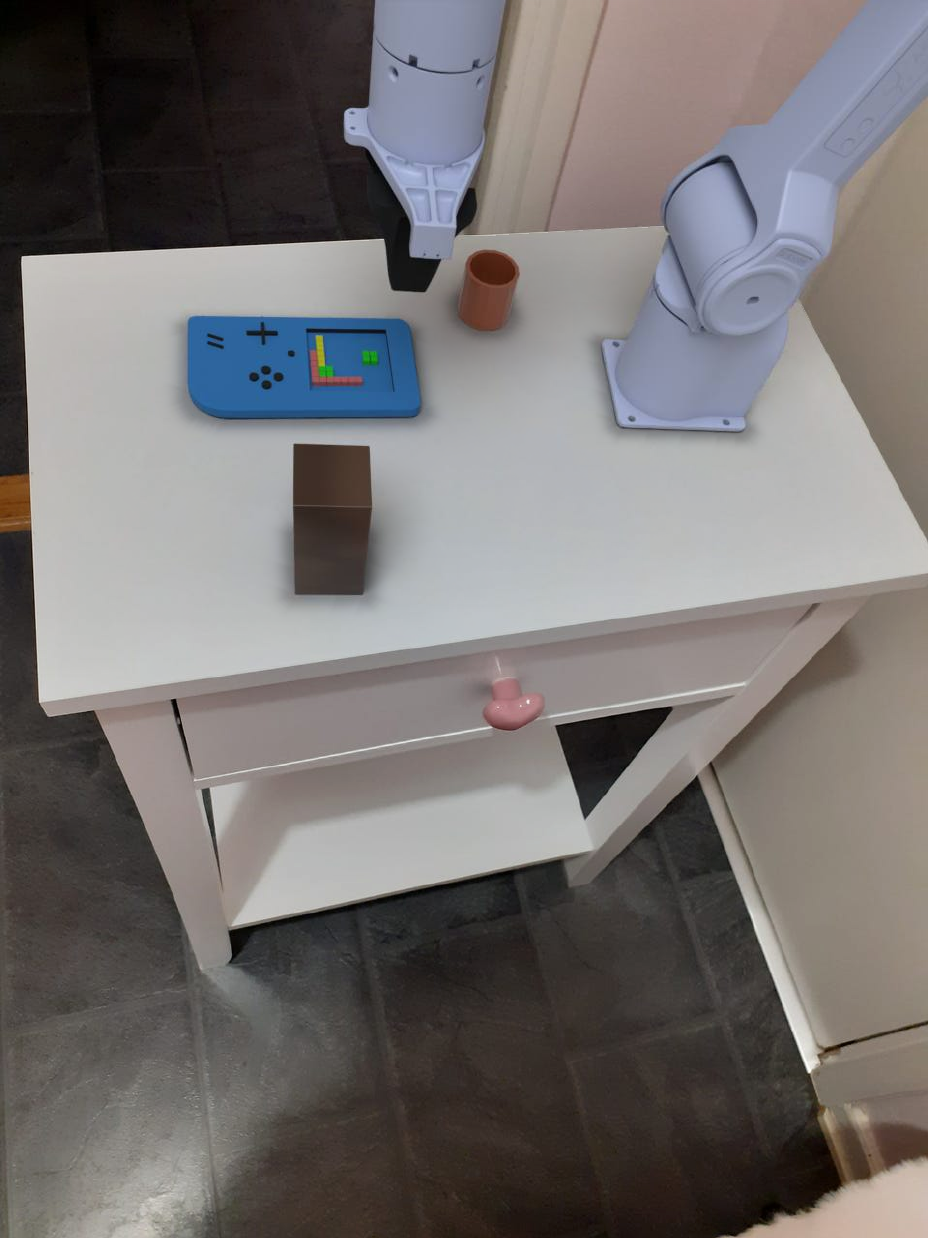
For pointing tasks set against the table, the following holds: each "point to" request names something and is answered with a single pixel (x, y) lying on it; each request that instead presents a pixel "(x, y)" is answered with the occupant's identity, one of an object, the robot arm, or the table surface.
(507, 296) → the pen cup
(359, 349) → the handheld gaming device
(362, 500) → the tall brown box
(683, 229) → the robot arm
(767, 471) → the table surface
